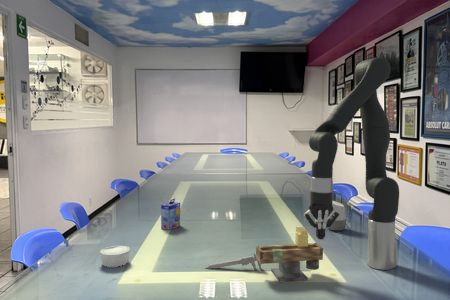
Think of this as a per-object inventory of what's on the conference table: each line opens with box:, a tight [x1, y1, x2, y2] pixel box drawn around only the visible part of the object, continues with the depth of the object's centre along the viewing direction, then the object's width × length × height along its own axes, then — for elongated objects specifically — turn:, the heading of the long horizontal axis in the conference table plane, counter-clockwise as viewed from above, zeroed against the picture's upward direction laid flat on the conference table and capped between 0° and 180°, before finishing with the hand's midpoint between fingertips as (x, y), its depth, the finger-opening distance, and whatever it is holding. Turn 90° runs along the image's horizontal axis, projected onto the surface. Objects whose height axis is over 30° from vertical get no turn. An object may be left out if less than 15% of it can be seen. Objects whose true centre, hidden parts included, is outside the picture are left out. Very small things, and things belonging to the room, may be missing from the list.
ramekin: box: [99, 245, 131, 268], centre depth 152 cm, size 11×11×5 cm
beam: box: [255, 242, 324, 283], centre depth 139 cm, size 22×10×10 cm, turn 99°
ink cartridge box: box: [160, 198, 181, 231], centre depth 200 cm, size 10×6×14 cm, turn 152°
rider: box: [295, 226, 309, 249], centre depth 139 cm, size 4×5×9 cm
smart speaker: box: [327, 200, 347, 232], centre depth 194 cm, size 10×9×14 cm
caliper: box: [204, 252, 262, 270], centre depth 146 cm, size 20×1×6 cm, turn 87°
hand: (320, 238), depth 140 cm, fingers closed
